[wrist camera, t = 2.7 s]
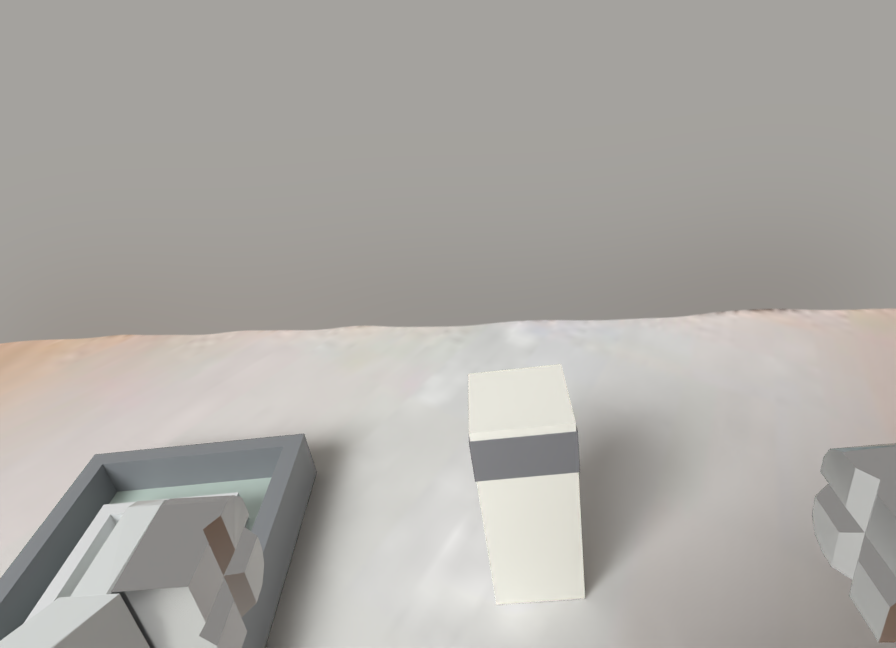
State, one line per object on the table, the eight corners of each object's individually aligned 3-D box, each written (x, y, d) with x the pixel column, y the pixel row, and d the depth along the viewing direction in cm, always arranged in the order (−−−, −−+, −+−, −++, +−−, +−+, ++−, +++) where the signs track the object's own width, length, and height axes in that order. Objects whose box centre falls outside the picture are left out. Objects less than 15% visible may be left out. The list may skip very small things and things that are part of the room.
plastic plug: (572, 528, 32) (562, 363, 27) (586, 599, 28) (577, 423, 23) (491, 535, 32) (467, 373, 27) (495, 605, 28) (467, 434, 24)
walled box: (316, 472, 38) (304, 433, 37) (231, 761, 24) (205, 718, 23) (114, 491, 39) (95, 454, 38) (-78, 778, 25) (-122, 737, 24)
